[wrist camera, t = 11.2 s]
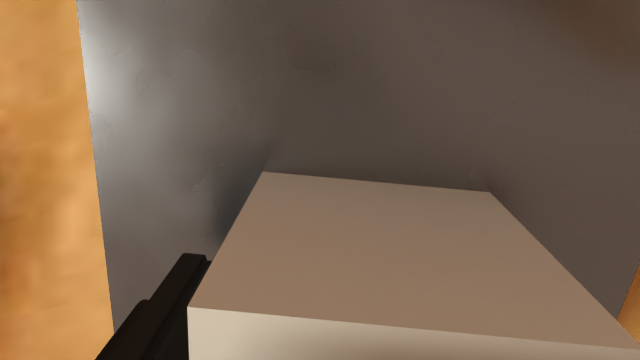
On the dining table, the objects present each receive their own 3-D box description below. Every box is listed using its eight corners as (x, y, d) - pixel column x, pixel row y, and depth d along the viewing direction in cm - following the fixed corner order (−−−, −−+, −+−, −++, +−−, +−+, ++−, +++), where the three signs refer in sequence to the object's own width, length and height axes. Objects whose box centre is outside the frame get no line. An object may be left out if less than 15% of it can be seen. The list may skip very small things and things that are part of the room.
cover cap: (262, 171, 11) (187, 306, 6) (489, 192, 11) (647, 350, 6) (256, 351, 13) (196, 580, 8) (446, 369, 13) (527, 614, 8)
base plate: (112, -297, 10) (27, -424, 7) (737, -247, 10) (893, -358, 7) (158, 367, 18) (125, 430, 15) (519, 402, 18) (554, 472, 15)
